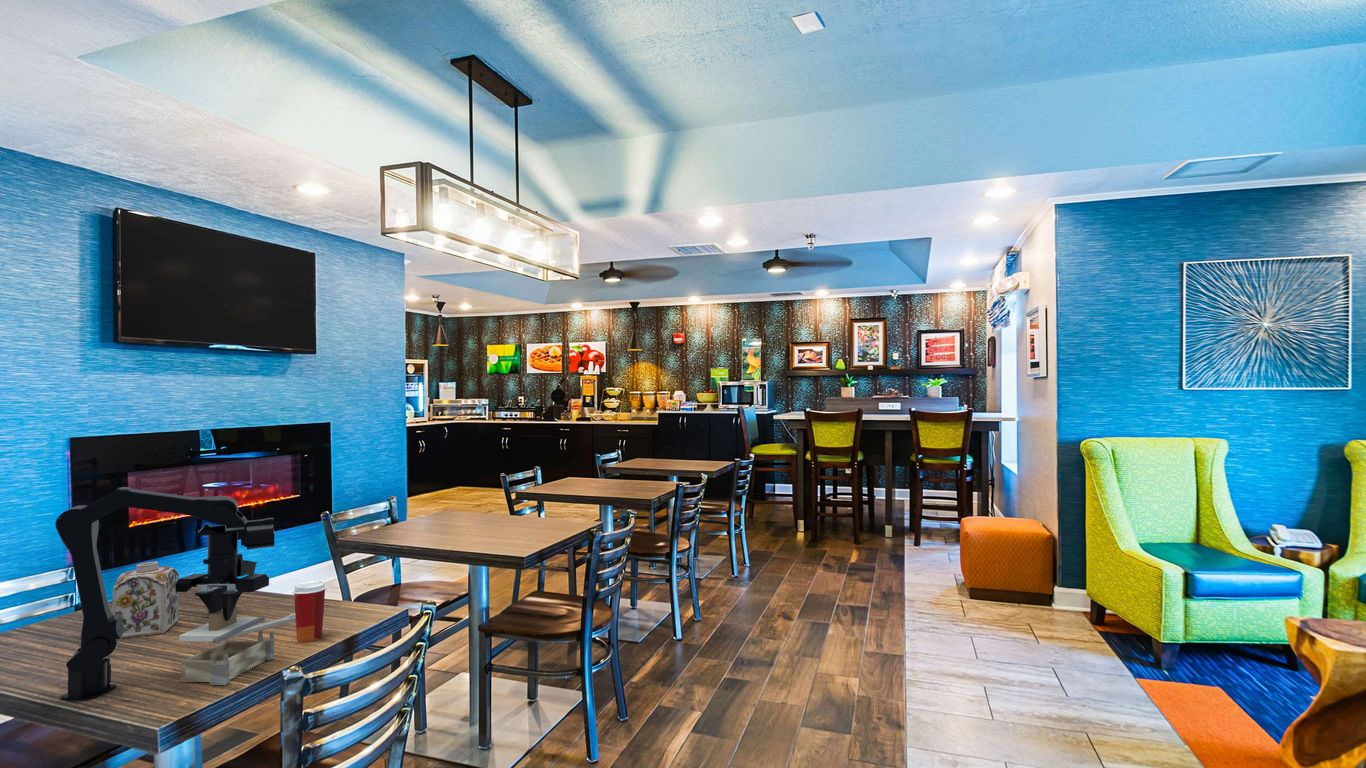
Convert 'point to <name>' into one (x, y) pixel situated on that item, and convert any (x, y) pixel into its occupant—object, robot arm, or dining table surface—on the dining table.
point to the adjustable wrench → (266, 625)
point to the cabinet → (227, 660)
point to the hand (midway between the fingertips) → (222, 620)
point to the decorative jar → (147, 599)
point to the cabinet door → (220, 627)
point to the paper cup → (309, 610)
